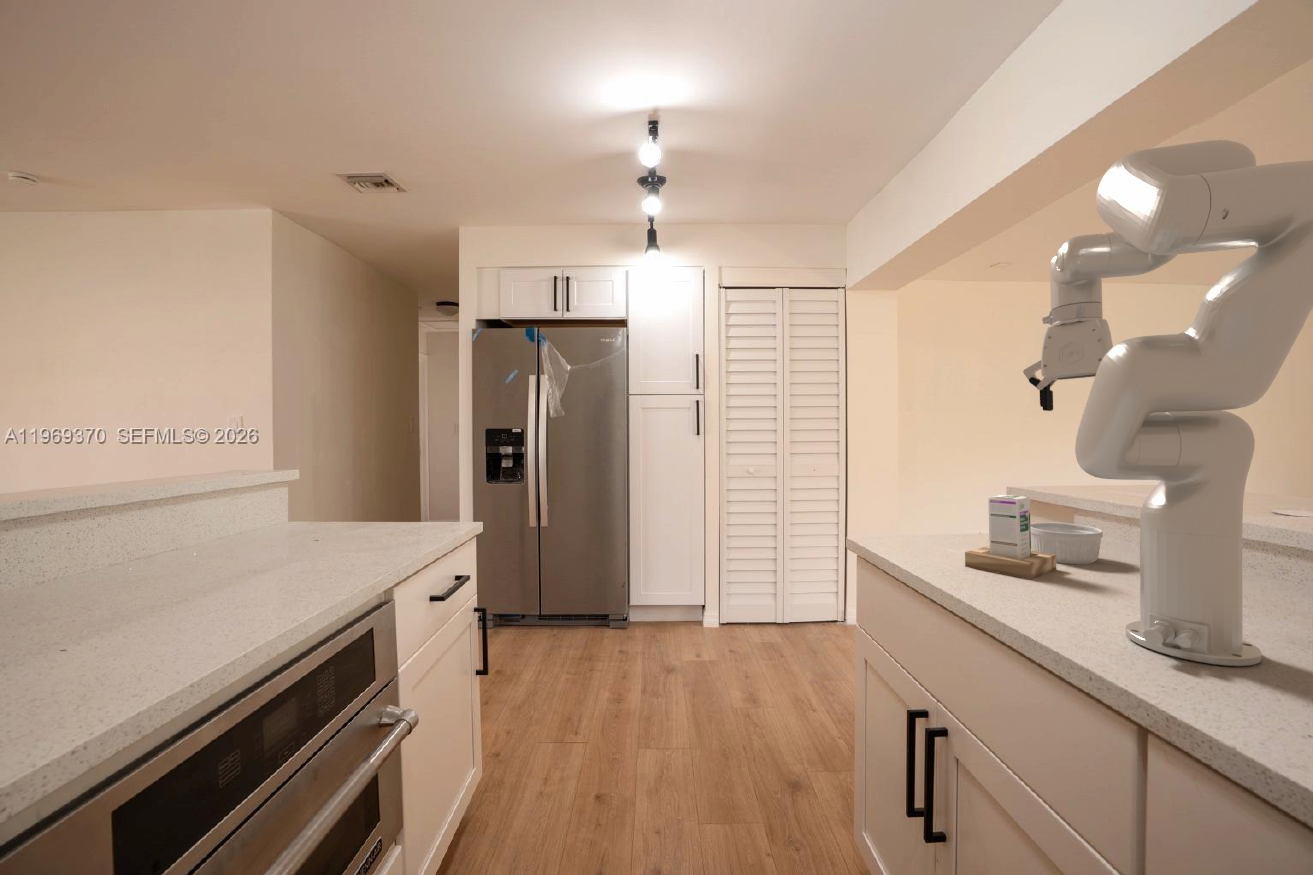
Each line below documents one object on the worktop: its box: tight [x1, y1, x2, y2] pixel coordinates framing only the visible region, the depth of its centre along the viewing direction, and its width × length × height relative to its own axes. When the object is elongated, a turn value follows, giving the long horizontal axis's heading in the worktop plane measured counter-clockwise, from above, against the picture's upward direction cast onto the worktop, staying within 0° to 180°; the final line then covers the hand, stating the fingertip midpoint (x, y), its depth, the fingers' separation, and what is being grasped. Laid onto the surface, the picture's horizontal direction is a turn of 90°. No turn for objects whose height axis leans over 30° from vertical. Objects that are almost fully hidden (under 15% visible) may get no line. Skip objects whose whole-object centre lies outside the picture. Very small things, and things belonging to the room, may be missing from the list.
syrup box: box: [987, 494, 1032, 560], centre depth 109 cm, size 6×6×14 cm
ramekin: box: [1030, 521, 1104, 565], centre depth 117 cm, size 13×13×7 cm
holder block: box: [964, 545, 1057, 580], centre depth 110 cm, size 12×12×3 cm
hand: (1078, 408), depth 98 cm, fingers open, 9 cm apart
